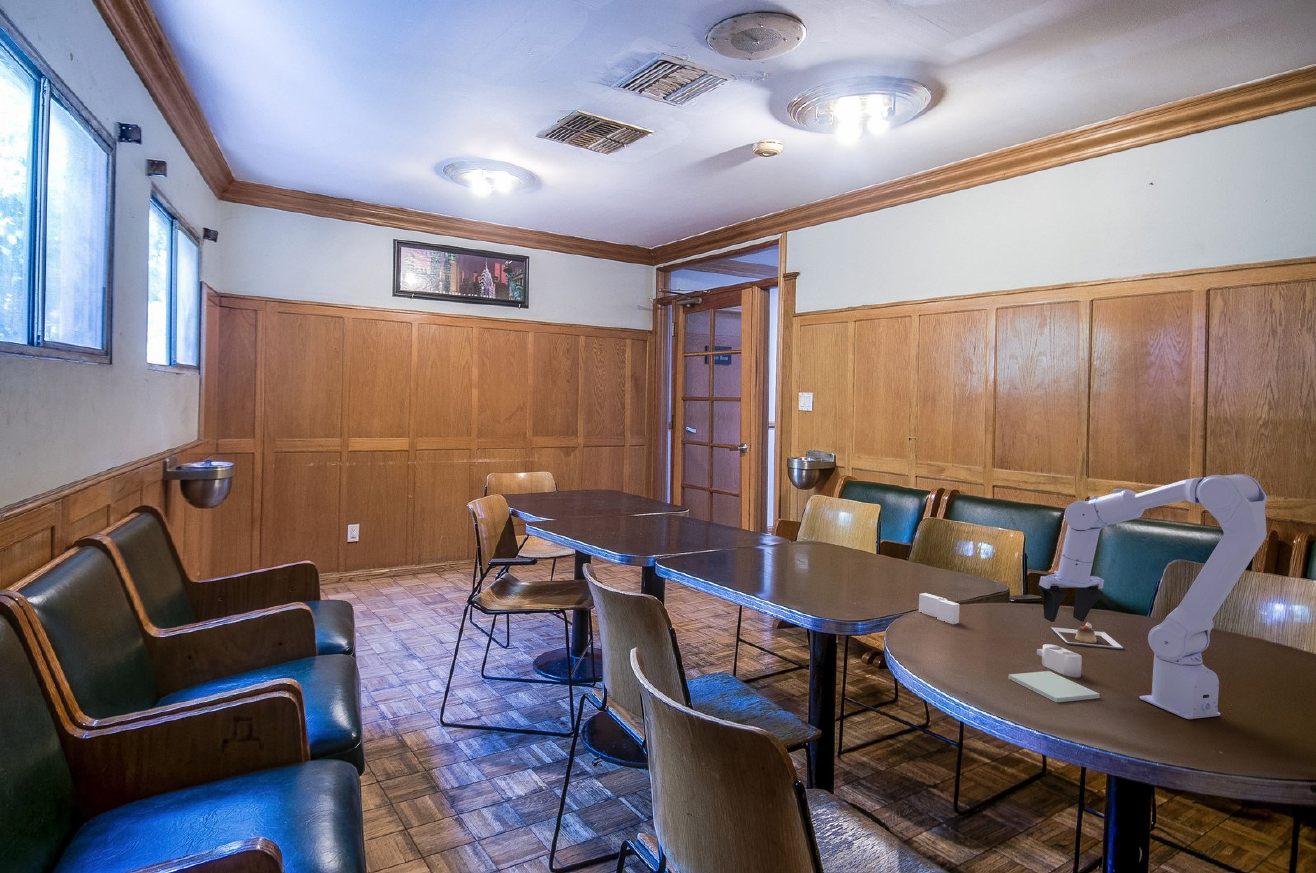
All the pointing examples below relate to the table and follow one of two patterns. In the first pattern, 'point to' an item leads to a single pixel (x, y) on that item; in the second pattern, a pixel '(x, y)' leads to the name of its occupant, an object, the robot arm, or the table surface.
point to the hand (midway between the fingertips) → (1063, 619)
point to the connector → (1061, 660)
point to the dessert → (1087, 636)
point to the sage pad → (1053, 686)
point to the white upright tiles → (939, 608)
